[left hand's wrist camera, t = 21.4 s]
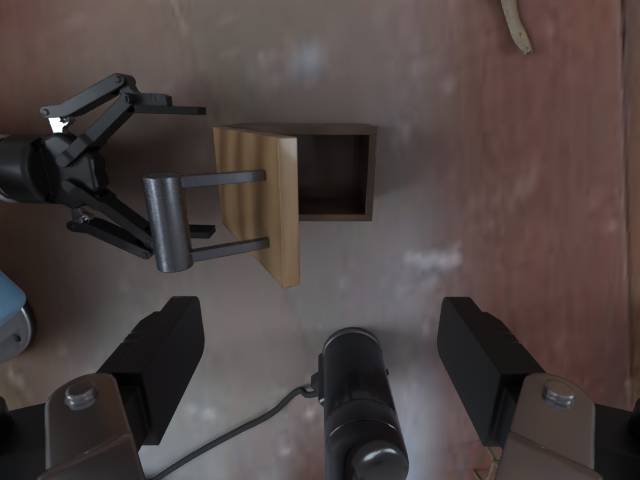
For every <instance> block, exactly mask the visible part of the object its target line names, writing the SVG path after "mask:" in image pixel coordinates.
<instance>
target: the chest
mask: <svg viewBox="0 0 640 480" xmlns="http://www.w3.org/2000/svg"><path fill="white" fill-rule="evenodd" d="M221 127H231V128H238V129H245V130H252V131H259V132H266V133H272V134H279V135H286V136H293V137H297V161H298V214H299V221H372V212H373V195H374V178H375V160H376V143H377V127H375V126H372V125H368V124H254V123H240V124H234V125H227V126H221Z"/></svg>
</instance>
